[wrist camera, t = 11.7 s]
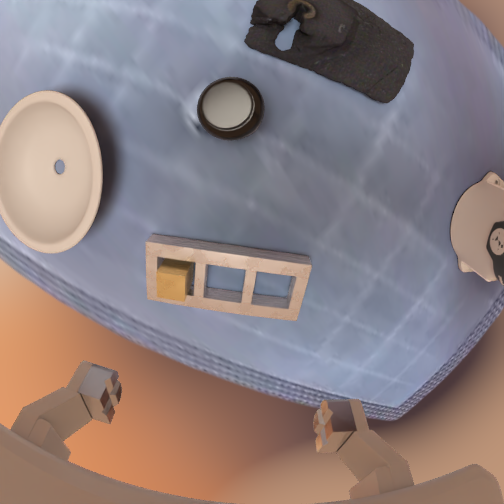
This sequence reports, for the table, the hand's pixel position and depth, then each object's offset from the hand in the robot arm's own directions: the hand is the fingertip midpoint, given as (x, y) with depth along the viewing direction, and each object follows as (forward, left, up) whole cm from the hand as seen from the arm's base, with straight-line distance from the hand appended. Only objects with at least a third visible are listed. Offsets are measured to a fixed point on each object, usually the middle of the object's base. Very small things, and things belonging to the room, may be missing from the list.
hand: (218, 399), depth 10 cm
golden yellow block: (+8, +12, -31) cm, 34 cm away
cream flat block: (+1, +12, -31) cm, 33 cm away
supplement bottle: (+3, -11, -31) cm, 33 cm away
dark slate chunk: (-8, -25, -32) cm, 41 cm away
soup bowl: (+30, -2, -31) cm, 43 cm away
